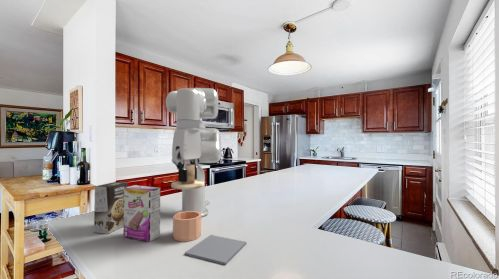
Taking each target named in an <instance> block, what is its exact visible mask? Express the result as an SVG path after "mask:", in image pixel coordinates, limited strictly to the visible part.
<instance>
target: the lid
mask: <svg viewBox="0 0 499 279" xmlns="http://www.w3.org/2000/svg"><path fill="white" fill-rule="evenodd" d="M186 170H187V182H179V181H173V182H171V185H170V186H171V188H172V189H173V190H181V191H182V190H186V189H196V188H201V187H203V186H204V182H203V181H199V180H195V165H192V164H187V165H186Z"/></svg>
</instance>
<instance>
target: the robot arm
mask: <svg viewBox="0 0 499 279" xmlns="http://www.w3.org/2000/svg"><path fill="white" fill-rule="evenodd" d="M165 107H166V109H167V111H169V113H171V114H176V122H175V123H176V128H175V129H174V133H173V137H172V146H171V148H172V149H171V150H172V151H171V162H172V163H173V164H174V165H175V166H176V169H177V170H178V171H177V172H178V175H177V176H178V178H177V180H178V181H179V182H187V170H186V165H187V164H192V165H195V180H199V181H203V182H204V186H203V187H201V188H196V189H186V190H182V189H181V191H182V192H181V209H180V210H178V212H177V213H180V212H185V211H196V212H200V213H201V214H202V218H203V217H205V216H207V215H208V214H209V209H208V208H206V207H207V206H208V205H210V203H211V202H210V200H206V198H205V197H206V196H205V194H206V192H205V191H206V190H205V189H206V177H205V176H206V175H205V174H206V173H205V171H204V169H203V167H201V165H200V164H215V163H218V162H220V161H221V158H222V139H221V138H222V136H221V132H220V131H219V129H218V128H213V127H206V125H205V124H204V122H203V121H202V120H209V119H210V120H214V119H216V118H217V117H218V114H219V94H218V92H217V91H216V89H214V88H210V87H209V88H208V87H207V88H206V87H193V88H190V87H187V88H186V87H184V88H183V87H182V88H179V89H178V90H173V91H170V92H168V93H167V96H166V98H165Z"/></svg>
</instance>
